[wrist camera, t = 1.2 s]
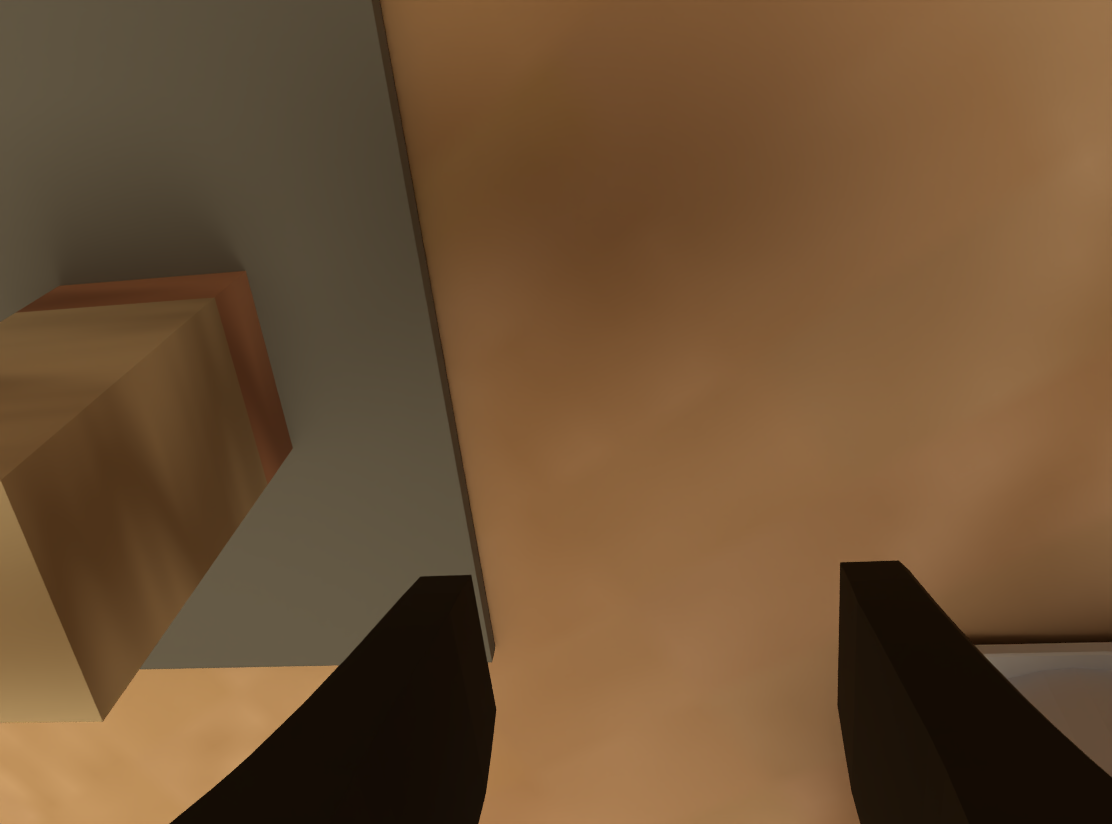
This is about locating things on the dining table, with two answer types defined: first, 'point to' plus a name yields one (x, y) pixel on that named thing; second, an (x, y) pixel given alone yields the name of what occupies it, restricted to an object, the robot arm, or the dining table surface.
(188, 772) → the dining table surface
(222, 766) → the dining table surface
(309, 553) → the rubber mat
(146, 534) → the maple block
